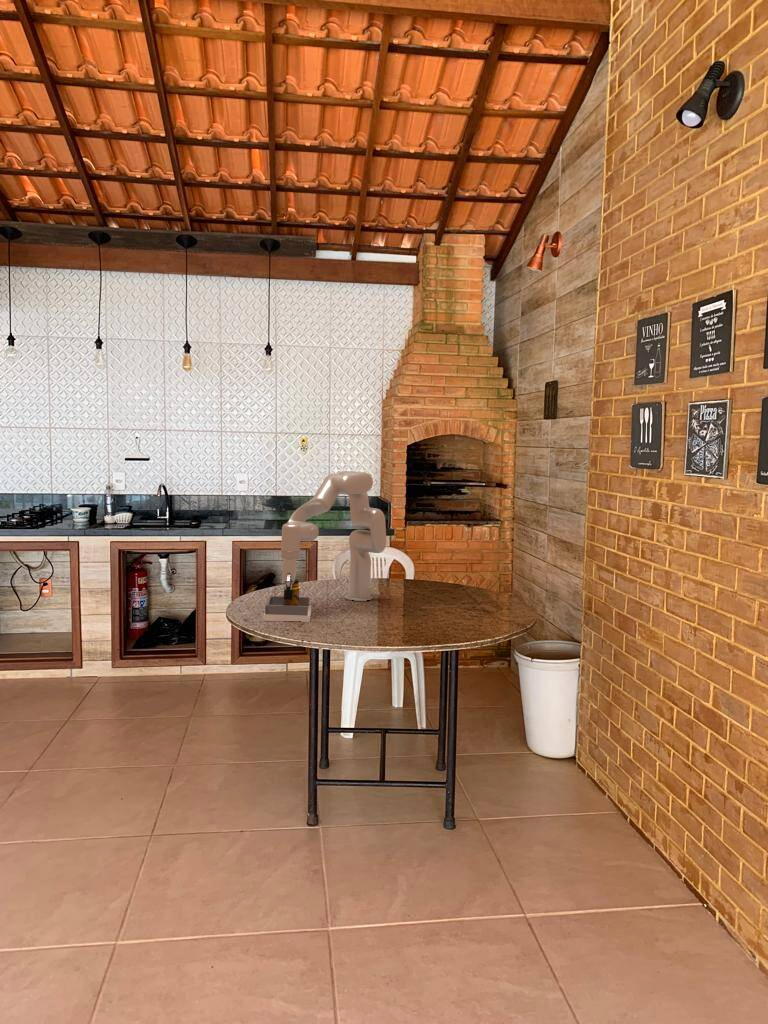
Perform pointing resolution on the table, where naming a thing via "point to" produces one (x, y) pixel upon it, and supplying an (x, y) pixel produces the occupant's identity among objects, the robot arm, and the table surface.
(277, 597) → the dock
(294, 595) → the condiment
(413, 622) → the table surface
